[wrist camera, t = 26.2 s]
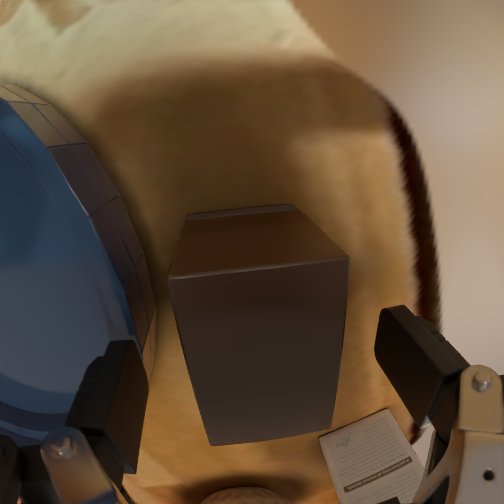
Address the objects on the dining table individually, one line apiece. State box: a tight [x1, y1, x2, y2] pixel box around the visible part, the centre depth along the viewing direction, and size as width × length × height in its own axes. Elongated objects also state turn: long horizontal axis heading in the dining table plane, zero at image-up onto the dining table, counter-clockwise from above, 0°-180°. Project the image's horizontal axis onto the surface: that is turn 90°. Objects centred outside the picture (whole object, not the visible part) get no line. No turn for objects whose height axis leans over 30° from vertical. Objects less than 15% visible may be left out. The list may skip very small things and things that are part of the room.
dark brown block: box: [166, 204, 350, 446], centre depth 11 cm, size 7×4×6 cm, turn 4°
